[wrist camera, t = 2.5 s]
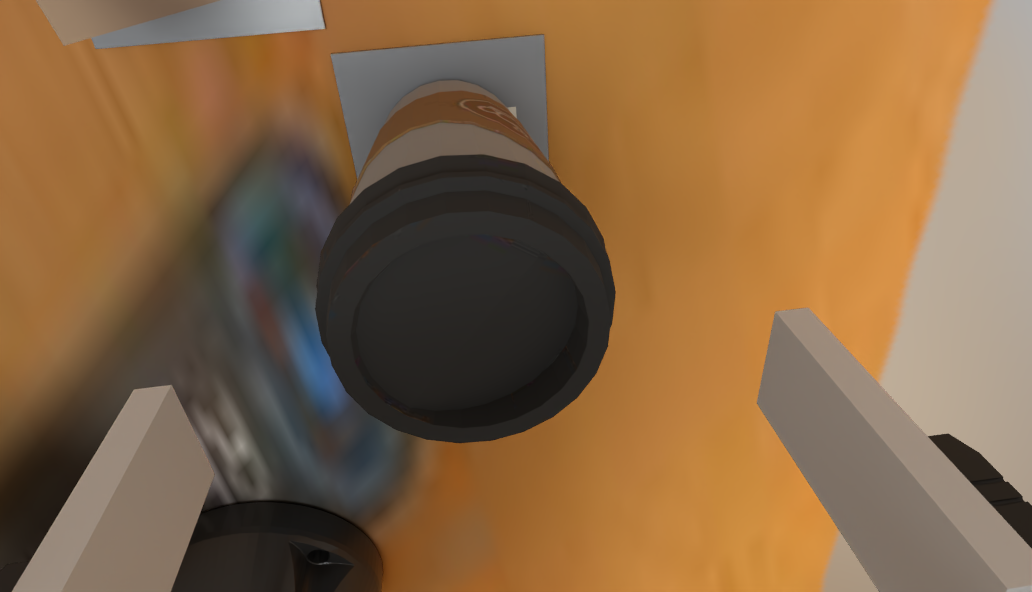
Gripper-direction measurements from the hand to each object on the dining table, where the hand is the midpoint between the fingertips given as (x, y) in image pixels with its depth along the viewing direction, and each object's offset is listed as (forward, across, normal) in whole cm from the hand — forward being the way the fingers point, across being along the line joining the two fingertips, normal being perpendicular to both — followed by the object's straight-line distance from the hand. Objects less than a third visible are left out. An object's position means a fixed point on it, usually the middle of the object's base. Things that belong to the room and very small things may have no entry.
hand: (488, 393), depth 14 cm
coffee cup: (+18, 0, 0) cm, 18 cm away
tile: (+18, 0, 0) cm, 18 cm away
